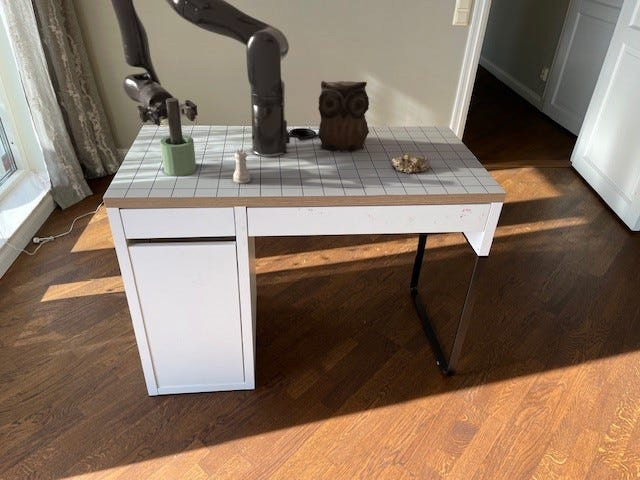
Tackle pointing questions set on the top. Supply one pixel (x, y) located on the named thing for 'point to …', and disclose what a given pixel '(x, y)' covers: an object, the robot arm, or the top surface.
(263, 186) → the top surface
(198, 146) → the top surface
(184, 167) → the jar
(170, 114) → the rod
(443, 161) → the top surface
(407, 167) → the mineral rock
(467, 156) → the top surface
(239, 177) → the rook chess piece
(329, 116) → the owl
